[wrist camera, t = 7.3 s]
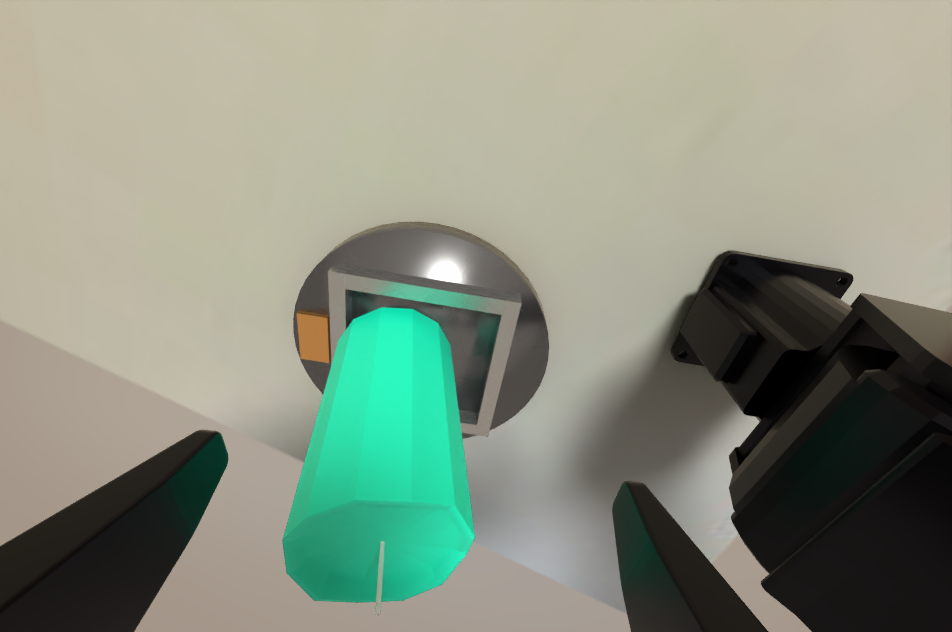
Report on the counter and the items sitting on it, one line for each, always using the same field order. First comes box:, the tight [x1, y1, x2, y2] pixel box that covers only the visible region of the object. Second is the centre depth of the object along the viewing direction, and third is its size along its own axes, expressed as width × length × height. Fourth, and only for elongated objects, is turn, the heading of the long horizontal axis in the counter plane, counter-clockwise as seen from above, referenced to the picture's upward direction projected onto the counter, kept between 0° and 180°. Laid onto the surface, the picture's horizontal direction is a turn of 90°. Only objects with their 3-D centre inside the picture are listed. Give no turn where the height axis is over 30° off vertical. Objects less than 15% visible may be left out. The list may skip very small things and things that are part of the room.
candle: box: [283, 307, 475, 615], centre depth 16 cm, size 6×6×12 cm
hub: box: [293, 222, 549, 439], centre depth 22 cm, size 14×14×2 cm
